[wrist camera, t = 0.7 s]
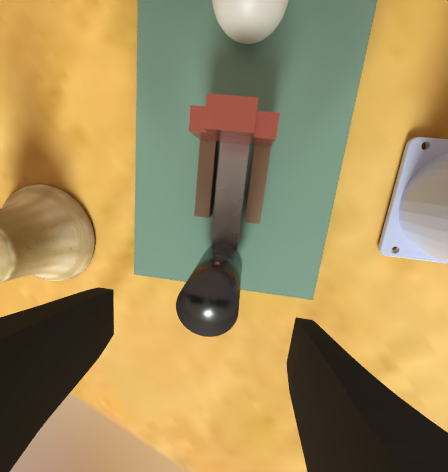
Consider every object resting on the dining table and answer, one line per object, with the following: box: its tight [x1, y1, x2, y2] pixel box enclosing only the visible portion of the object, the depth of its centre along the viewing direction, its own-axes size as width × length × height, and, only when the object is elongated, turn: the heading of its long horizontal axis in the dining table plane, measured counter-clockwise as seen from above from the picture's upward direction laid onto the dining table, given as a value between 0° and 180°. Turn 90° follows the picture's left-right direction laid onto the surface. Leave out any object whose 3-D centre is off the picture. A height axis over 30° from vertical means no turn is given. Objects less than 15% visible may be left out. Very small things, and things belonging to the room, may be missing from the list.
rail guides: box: [194, 140, 271, 224], centre depth 16 cm, size 4×5×1 cm
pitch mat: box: [134, 0, 377, 300], centre depth 16 cm, size 14×23×1 cm, turn 174°
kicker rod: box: [176, 93, 280, 337], centre depth 13 cm, size 4×11×7 cm, turn 174°
